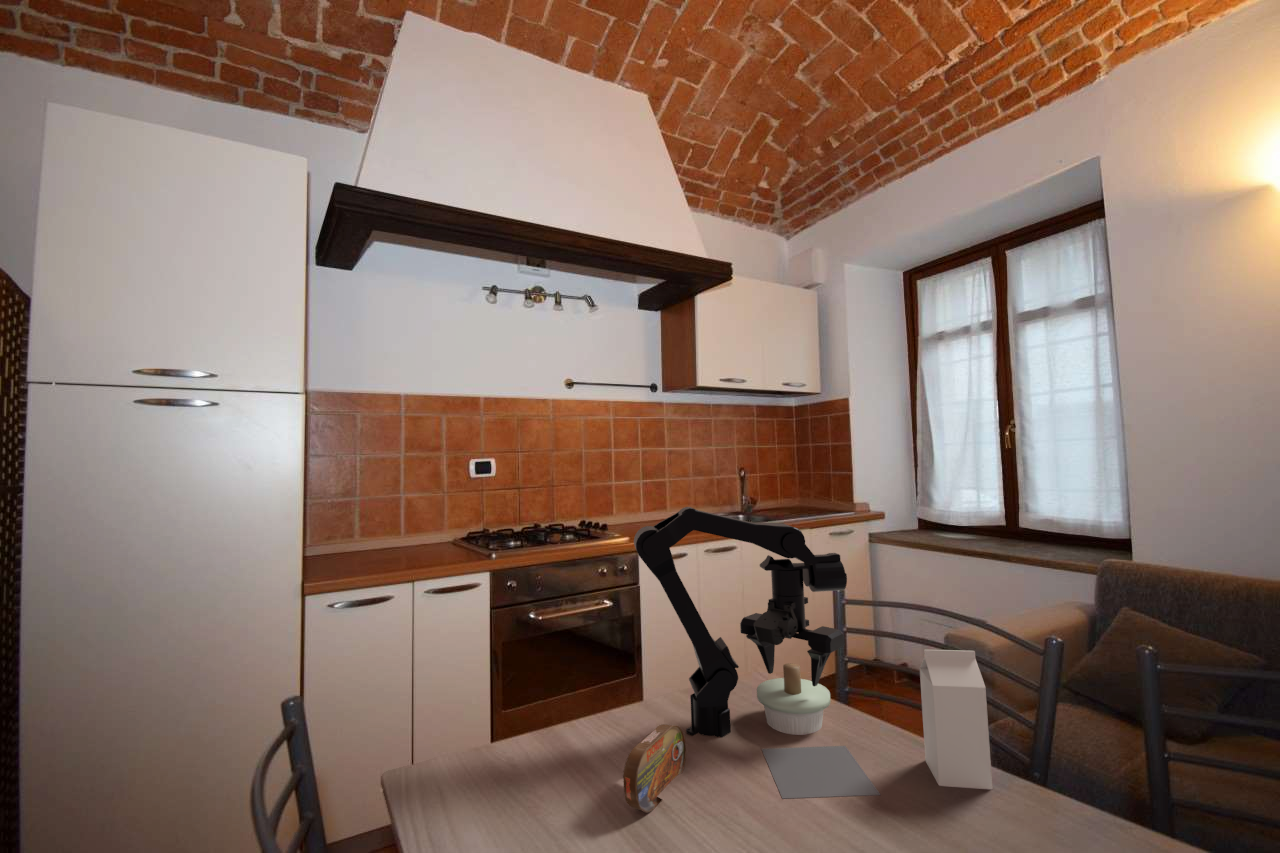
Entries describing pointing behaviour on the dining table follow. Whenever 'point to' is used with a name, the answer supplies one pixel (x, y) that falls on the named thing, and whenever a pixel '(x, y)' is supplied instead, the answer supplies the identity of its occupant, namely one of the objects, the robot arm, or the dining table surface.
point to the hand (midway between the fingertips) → (792, 679)
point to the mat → (817, 772)
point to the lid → (793, 693)
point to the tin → (653, 766)
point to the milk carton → (955, 719)
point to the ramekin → (794, 721)
